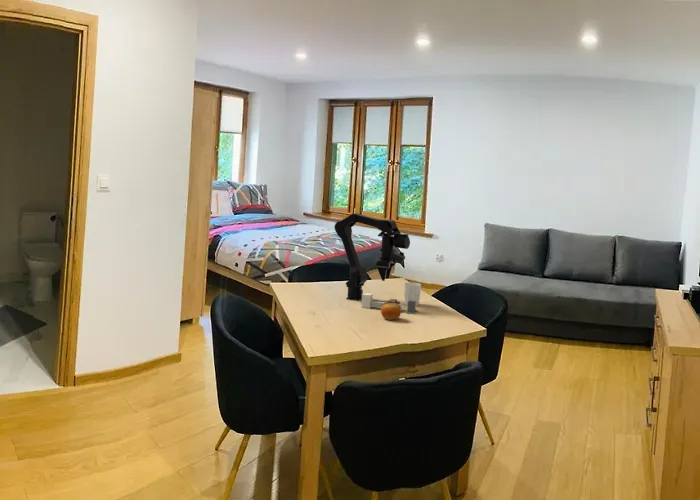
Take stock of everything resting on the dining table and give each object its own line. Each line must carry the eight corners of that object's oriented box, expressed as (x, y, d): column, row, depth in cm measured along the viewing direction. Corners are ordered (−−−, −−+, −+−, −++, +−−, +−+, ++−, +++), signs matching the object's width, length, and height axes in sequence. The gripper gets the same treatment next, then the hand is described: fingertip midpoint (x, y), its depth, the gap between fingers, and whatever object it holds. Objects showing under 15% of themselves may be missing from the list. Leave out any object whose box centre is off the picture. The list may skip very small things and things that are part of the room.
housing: (383, 310, 281) (384, 301, 280) (387, 307, 287) (387, 298, 287) (415, 314, 277) (415, 304, 276) (418, 311, 283) (418, 301, 283)
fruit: (387, 307, 273) (389, 294, 267) (403, 316, 269) (405, 304, 264) (376, 318, 268) (378, 305, 262) (392, 328, 264) (394, 315, 259)
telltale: (407, 312, 280) (408, 301, 279) (408, 311, 283) (409, 300, 282) (413, 313, 279) (414, 302, 278) (415, 311, 282) (415, 301, 281)
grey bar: (361, 307, 285) (362, 294, 285) (363, 305, 289) (364, 292, 288) (399, 311, 280) (400, 298, 280) (401, 309, 284) (402, 297, 283)
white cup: (419, 306, 292) (420, 286, 291) (402, 305, 294) (403, 284, 292) (420, 303, 300) (421, 283, 299) (404, 302, 301) (405, 281, 300)
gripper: (400, 250, 280) (398, 284, 282) (408, 245, 297) (406, 277, 300) (376, 248, 283) (374, 281, 285) (385, 243, 301) (383, 275, 303)
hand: (385, 279), depth 293 cm, fingers open, 9 cm apart
